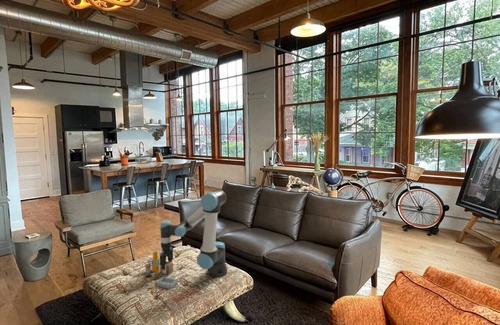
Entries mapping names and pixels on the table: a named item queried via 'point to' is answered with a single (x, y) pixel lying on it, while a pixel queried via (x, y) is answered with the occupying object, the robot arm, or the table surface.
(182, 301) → the table surface
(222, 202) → the robot arm
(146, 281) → the socket block
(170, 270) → the block
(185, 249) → the table surface
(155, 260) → the cylinder
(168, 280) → the tray
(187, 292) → the table surface
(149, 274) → the pin
